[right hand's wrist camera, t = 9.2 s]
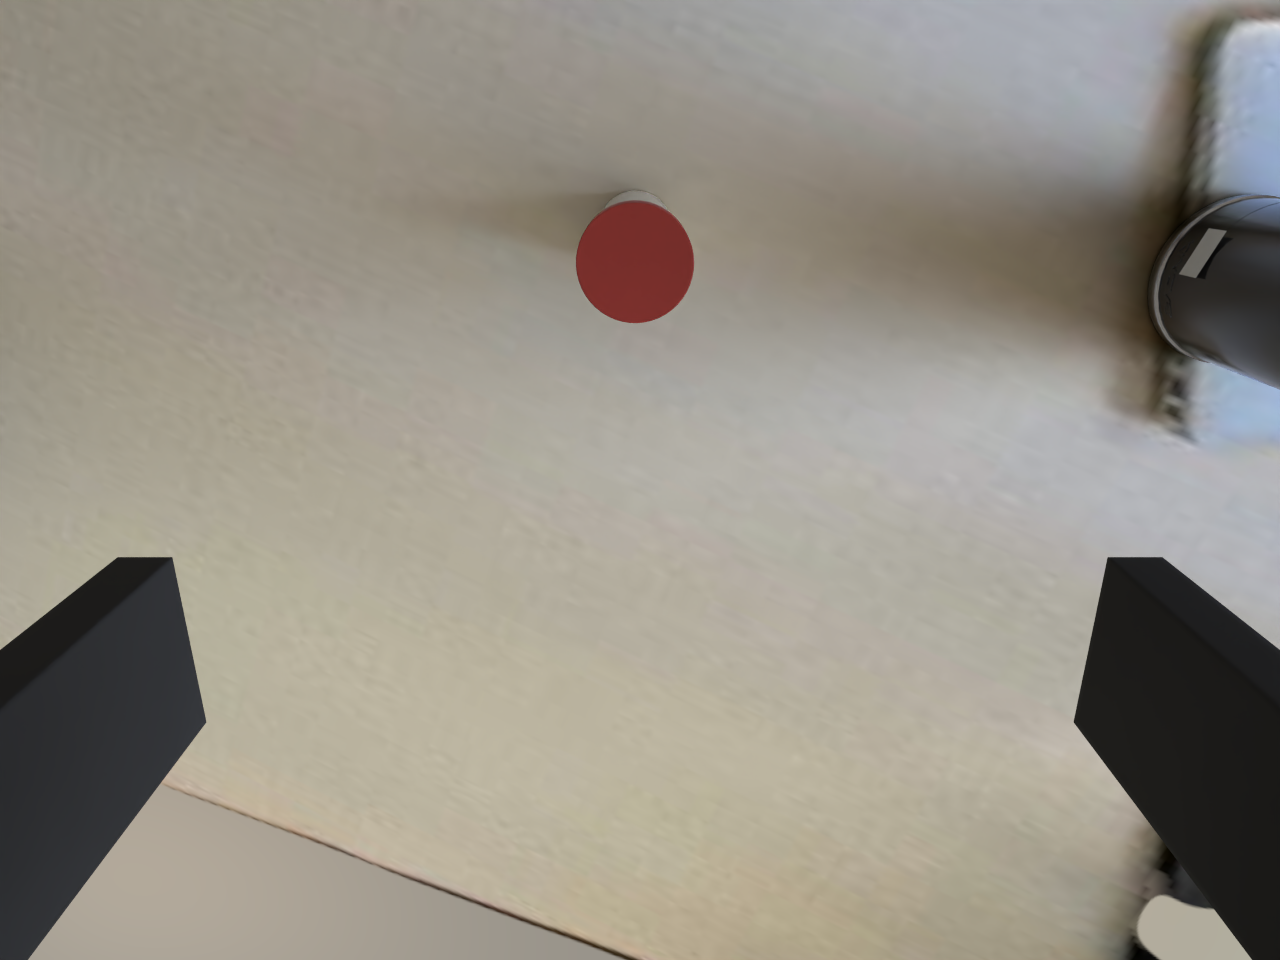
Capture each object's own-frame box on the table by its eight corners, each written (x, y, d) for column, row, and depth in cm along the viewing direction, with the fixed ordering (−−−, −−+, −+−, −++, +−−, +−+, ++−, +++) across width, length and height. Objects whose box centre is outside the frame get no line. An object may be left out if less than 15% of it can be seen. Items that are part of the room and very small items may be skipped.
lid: (568, 301, 38) (565, 308, 36) (591, 187, 36) (589, 189, 34) (676, 327, 38) (677, 334, 37) (704, 215, 36) (707, 218, 35)
